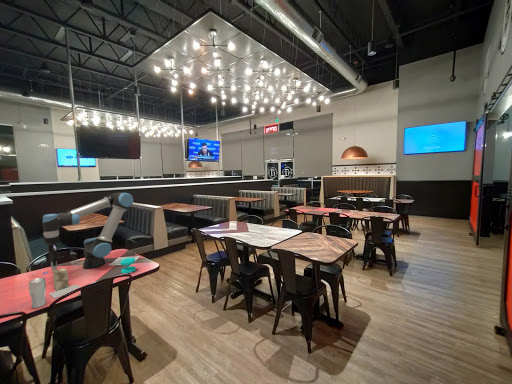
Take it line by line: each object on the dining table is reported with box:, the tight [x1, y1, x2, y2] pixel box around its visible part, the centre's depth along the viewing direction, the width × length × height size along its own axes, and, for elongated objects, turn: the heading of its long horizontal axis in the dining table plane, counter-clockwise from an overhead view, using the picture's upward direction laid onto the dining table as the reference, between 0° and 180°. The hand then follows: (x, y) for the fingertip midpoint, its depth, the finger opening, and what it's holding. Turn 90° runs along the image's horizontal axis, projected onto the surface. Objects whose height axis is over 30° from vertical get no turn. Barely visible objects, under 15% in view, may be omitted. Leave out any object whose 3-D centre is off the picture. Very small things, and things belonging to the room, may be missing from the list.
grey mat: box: [48, 284, 81, 299], centre depth 143 cm, size 14×10×1 cm
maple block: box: [52, 267, 70, 291], centre depth 147 cm, size 6×6×12 cm
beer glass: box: [28, 277, 47, 309], centre depth 127 cm, size 7×7×15 cm
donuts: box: [120, 257, 137, 275], centre depth 171 cm, size 10×10×10 cm
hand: (54, 270), depth 154 cm, fingers closed
